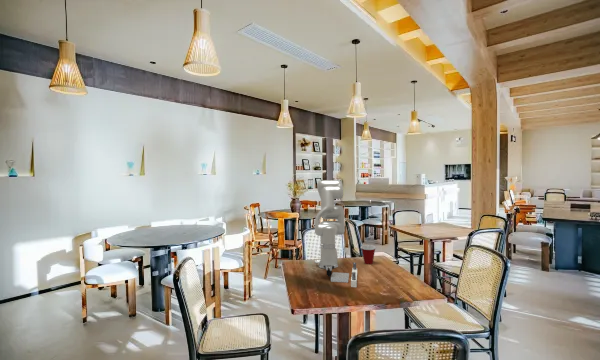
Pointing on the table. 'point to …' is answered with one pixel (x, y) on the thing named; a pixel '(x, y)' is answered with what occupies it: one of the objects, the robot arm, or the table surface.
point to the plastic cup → (368, 253)
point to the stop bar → (354, 276)
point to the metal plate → (339, 277)
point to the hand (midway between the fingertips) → (329, 276)
